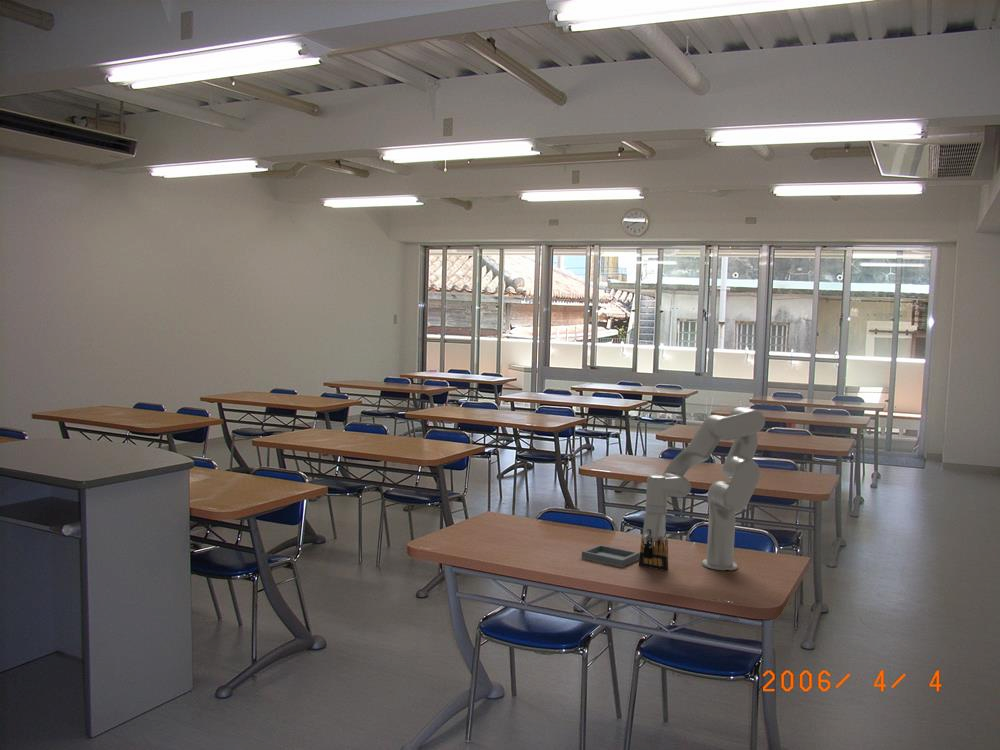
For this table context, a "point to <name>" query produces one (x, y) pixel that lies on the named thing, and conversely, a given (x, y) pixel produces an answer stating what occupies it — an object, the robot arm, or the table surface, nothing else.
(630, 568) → the table surface
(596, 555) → the holder tray
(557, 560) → the table surface
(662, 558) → the ammunition clip
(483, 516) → the table surface
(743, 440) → the robot arm
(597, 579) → the table surface
